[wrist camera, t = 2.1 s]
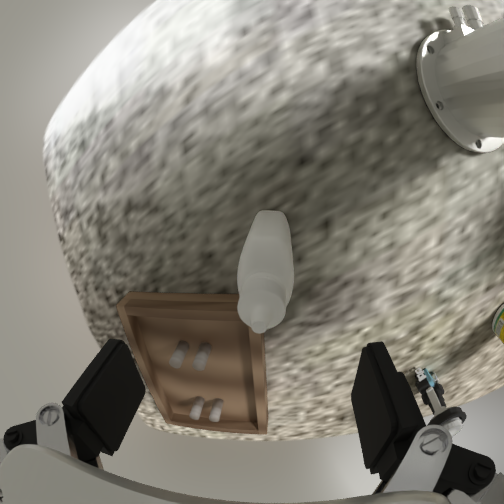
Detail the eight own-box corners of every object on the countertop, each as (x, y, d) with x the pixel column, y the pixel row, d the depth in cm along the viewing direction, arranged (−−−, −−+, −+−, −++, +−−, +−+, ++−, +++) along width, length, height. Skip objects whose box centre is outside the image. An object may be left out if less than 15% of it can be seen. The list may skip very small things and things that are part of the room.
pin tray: (129, 291, 27) (108, 313, 22) (261, 293, 25) (257, 321, 21) (172, 408, 34) (163, 431, 29) (268, 417, 32) (265, 443, 28)
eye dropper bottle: (232, 255, 24) (192, 344, 13) (264, 200, 22) (246, 254, 11) (275, 279, 24) (268, 379, 13) (309, 227, 22) (335, 303, 11)
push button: (398, 377, 28) (421, 439, 18) (433, 352, 26) (464, 411, 17) (415, 395, 29) (434, 450, 19) (445, 374, 27) (471, 426, 18)
